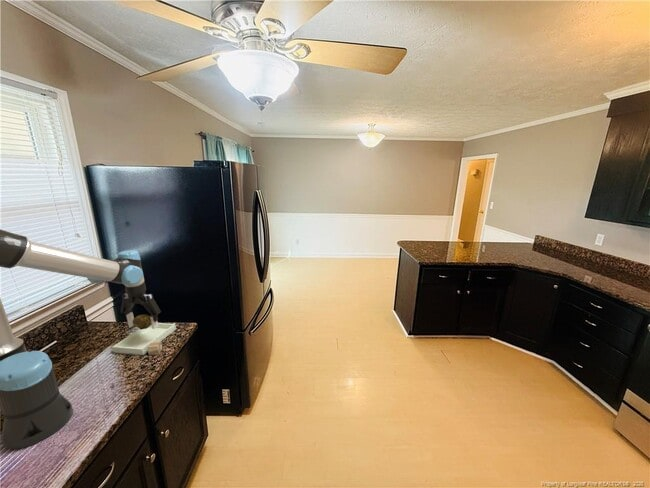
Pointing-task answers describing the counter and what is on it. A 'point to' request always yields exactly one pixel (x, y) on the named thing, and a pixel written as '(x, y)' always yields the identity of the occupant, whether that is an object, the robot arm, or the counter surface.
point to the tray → (143, 339)
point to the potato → (142, 321)
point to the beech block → (154, 348)
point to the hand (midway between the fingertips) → (143, 326)
